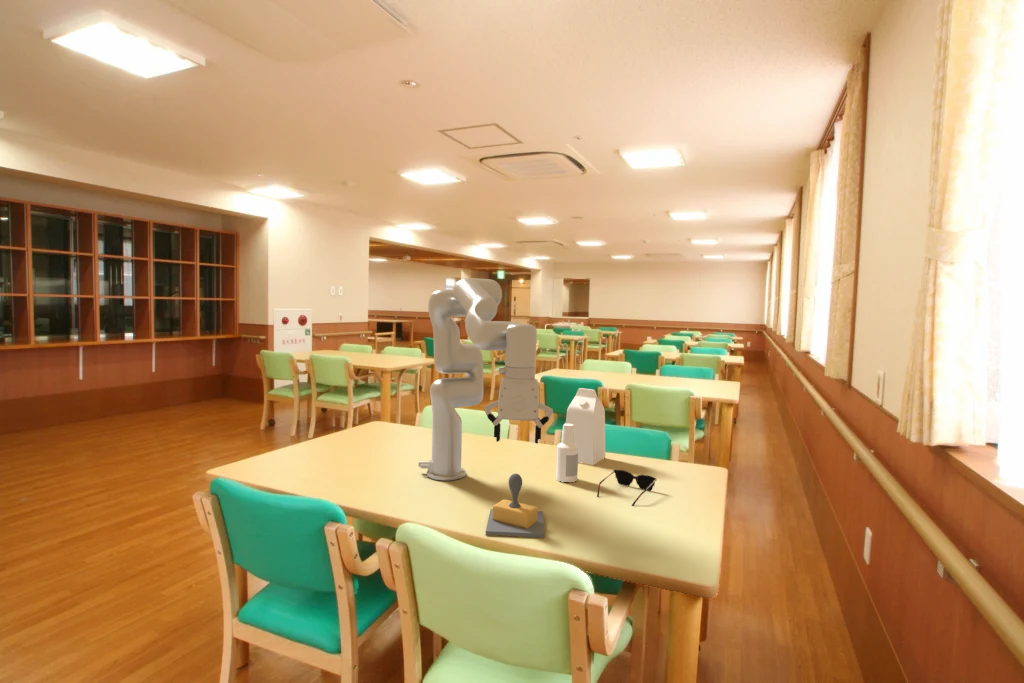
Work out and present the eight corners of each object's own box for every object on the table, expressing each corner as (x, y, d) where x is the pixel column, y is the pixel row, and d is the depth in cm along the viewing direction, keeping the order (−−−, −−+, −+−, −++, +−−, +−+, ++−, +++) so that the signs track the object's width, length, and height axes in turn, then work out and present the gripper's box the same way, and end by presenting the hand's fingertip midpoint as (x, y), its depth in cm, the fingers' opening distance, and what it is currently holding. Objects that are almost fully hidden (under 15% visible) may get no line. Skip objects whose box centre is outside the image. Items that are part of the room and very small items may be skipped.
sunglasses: (656, 492, 159) (656, 477, 159) (637, 512, 146) (637, 494, 146) (614, 483, 167) (614, 468, 167) (592, 500, 154) (592, 484, 153)
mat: (485, 535, 125) (485, 531, 125) (490, 512, 139) (490, 509, 139) (543, 537, 125) (544, 533, 125) (543, 514, 139) (543, 511, 139)
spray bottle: (576, 484, 164) (578, 427, 163) (554, 482, 166) (556, 426, 165) (578, 477, 171) (579, 423, 170) (557, 475, 172) (558, 421, 171)
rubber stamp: (491, 519, 132) (493, 473, 131) (503, 512, 137) (504, 467, 136) (526, 528, 127) (527, 480, 126) (537, 521, 132) (538, 474, 131)
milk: (605, 458, 195) (608, 388, 193) (592, 465, 185) (595, 392, 183) (576, 452, 201) (578, 385, 199) (562, 459, 191) (564, 389, 190)
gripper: (483, 374, 126) (481, 443, 128) (555, 377, 126) (552, 447, 127) (486, 370, 134) (484, 435, 135) (554, 372, 133) (551, 438, 134)
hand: (517, 441), depth 131 cm, fingers open, 9 cm apart
